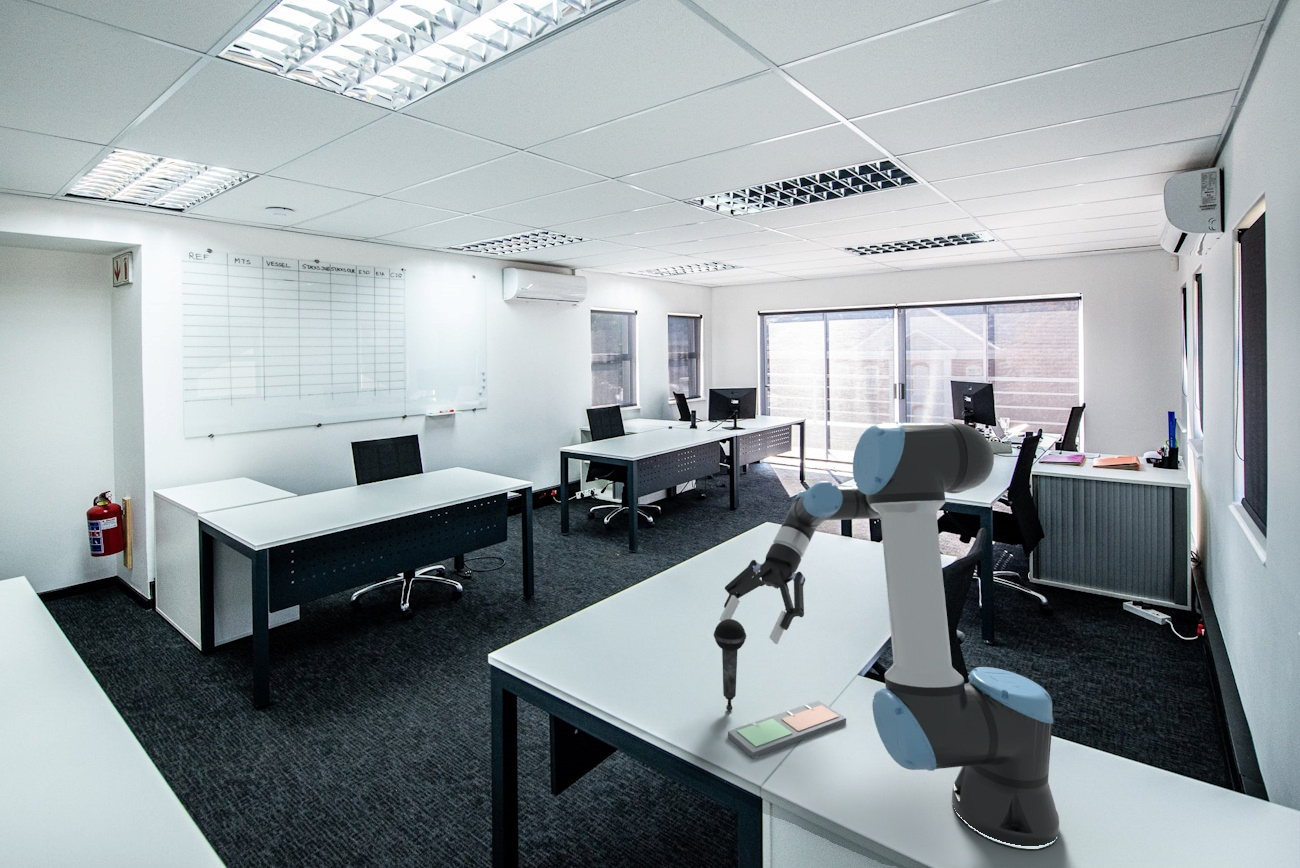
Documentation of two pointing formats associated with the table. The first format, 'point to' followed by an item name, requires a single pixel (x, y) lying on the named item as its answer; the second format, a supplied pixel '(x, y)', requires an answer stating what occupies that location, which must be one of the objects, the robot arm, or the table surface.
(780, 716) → the board
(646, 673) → the table surface
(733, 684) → the microphone
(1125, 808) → the table surface
